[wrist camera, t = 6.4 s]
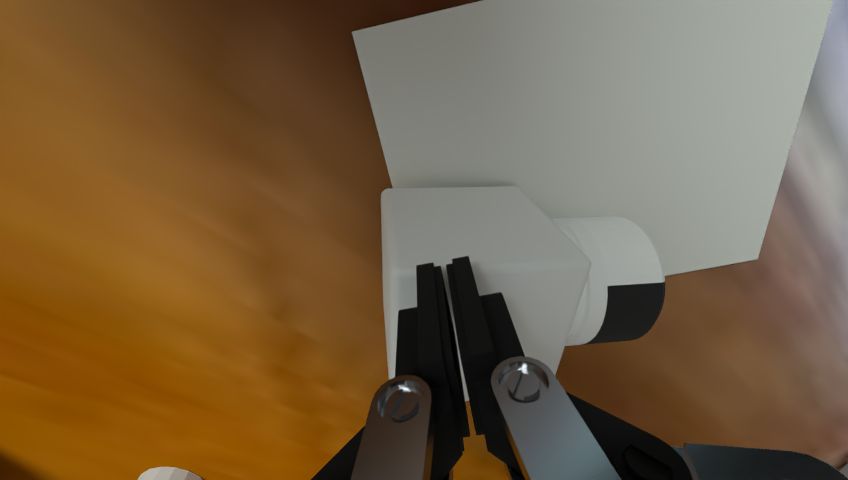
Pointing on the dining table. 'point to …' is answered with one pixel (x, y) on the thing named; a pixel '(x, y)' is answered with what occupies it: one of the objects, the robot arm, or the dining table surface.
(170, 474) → the shot glass
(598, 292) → the medicine bottle
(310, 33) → the dining table surface
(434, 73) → the mat
